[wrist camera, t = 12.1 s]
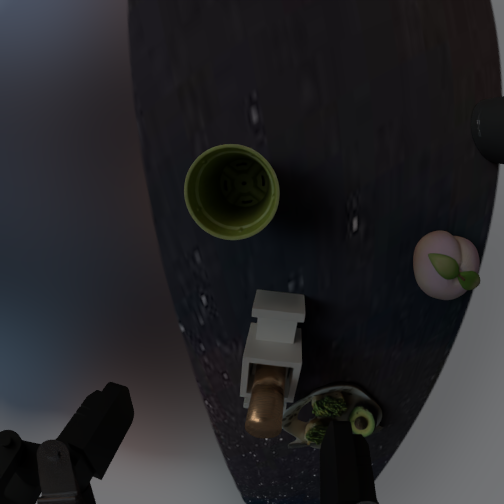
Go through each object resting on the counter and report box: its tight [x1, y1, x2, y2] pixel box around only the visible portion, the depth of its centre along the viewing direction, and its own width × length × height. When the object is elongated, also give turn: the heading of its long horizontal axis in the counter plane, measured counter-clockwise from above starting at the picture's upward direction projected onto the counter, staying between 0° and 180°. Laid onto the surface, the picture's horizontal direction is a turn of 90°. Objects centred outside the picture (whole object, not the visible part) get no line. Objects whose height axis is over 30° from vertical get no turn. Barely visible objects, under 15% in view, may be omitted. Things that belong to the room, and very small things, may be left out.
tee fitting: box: [240, 289, 305, 412], centre depth 41 cm, size 7×18×8 cm, turn 175°
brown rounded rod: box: [245, 364, 286, 438], centre depth 35 cm, size 4×4×12 cm
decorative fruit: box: [413, 231, 480, 300], centre depth 33 cm, size 9×8×10 cm
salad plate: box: [282, 382, 383, 448], centre depth 47 cm, size 19×18×5 cm
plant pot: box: [184, 144, 280, 240], centre depth 33 cm, size 9×9×9 cm
